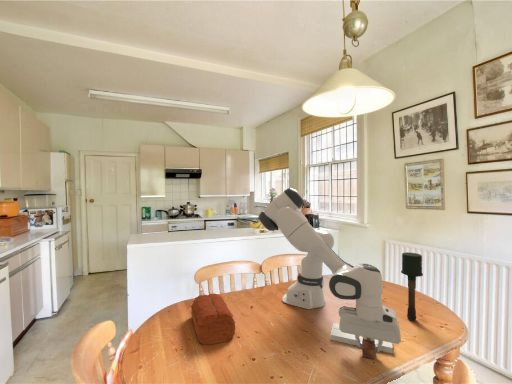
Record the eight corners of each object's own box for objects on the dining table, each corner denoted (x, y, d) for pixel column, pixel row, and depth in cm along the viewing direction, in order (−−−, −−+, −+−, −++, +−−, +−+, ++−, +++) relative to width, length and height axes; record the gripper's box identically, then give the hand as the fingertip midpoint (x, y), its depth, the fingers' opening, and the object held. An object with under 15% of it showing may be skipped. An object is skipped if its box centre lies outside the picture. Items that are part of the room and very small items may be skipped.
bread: (222, 310, 129) (222, 289, 129) (237, 339, 104) (237, 313, 104) (190, 315, 123) (190, 293, 123) (197, 347, 98) (198, 319, 98)
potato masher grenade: (426, 325, 115) (426, 256, 115) (404, 322, 117) (404, 255, 117) (418, 315, 123) (418, 252, 123) (398, 314, 125) (398, 251, 125)
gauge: (362, 356, 92) (362, 339, 92) (363, 337, 104) (363, 323, 104) (374, 359, 91) (374, 342, 91) (374, 339, 103) (374, 325, 103)
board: (330, 339, 103) (330, 334, 103) (333, 327, 113) (333, 322, 113) (392, 353, 95) (392, 347, 95) (390, 339, 104) (390, 334, 104)
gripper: (337, 308, 95) (337, 346, 95) (401, 319, 87) (401, 361, 87) (339, 301, 101) (339, 337, 101) (399, 312, 93) (399, 350, 93)
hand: (368, 348), depth 94 cm, fingers closed on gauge, 4 cm apart
